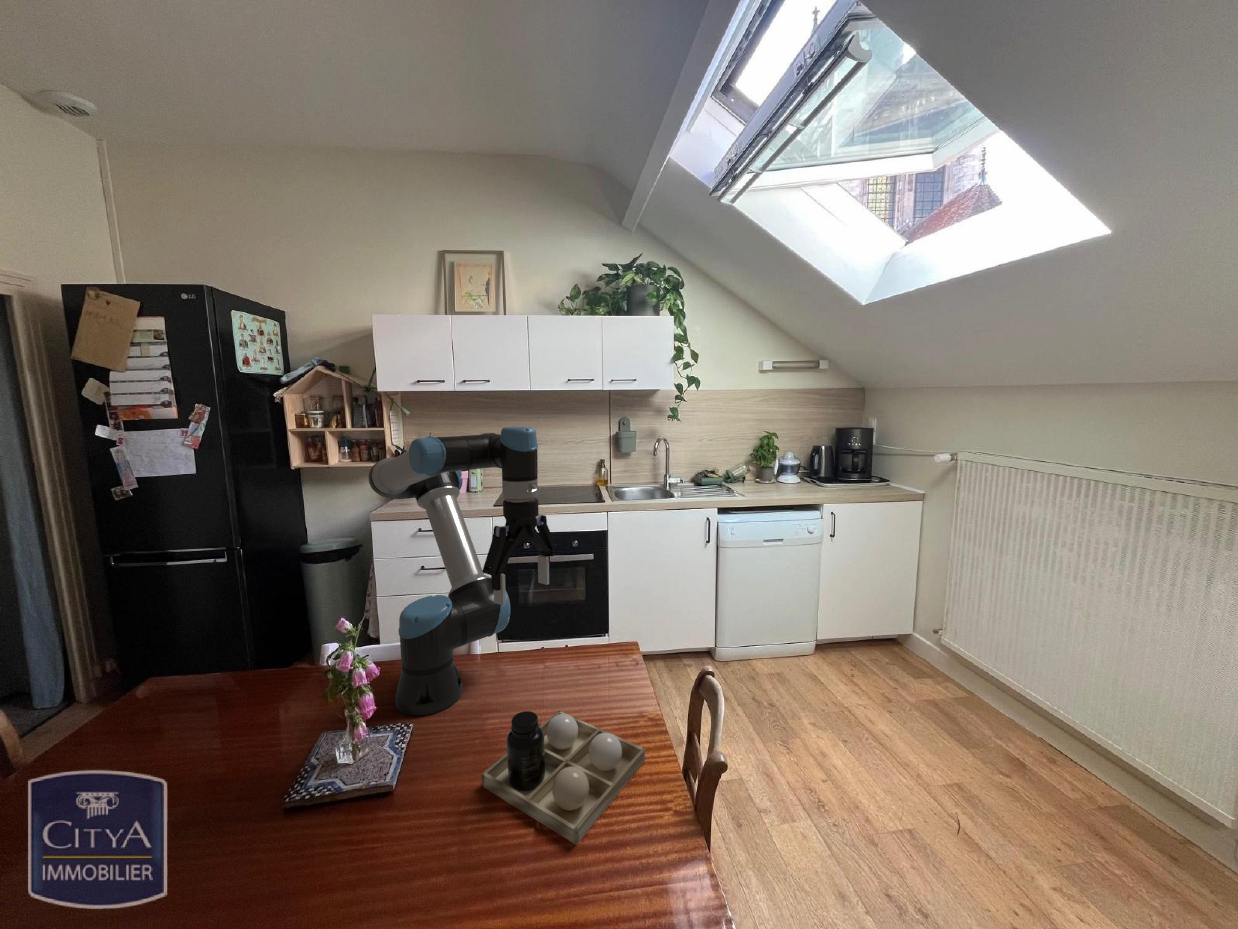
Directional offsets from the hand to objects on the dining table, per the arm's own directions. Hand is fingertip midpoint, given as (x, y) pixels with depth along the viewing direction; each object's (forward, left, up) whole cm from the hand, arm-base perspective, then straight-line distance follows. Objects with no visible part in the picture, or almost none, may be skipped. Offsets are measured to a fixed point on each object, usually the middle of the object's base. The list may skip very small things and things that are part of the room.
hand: (523, 593), depth 108 cm
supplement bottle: (+15, -15, -28) cm, 35 cm away
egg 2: (+25, -15, -28) cm, 41 cm away
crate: (+20, -10, -29) cm, 36 cm away
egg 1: (+15, -5, -28) cm, 32 cm away
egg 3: (+25, -5, -28) cm, 38 cm away
